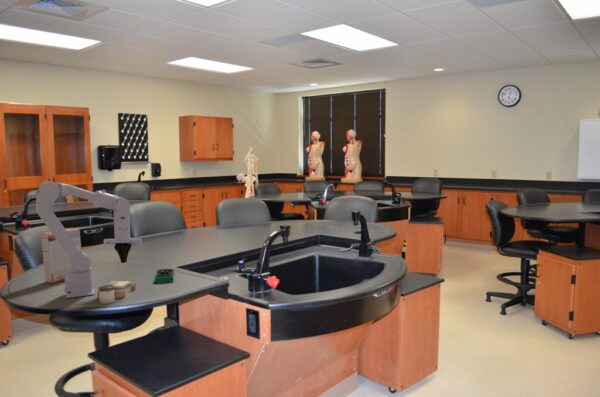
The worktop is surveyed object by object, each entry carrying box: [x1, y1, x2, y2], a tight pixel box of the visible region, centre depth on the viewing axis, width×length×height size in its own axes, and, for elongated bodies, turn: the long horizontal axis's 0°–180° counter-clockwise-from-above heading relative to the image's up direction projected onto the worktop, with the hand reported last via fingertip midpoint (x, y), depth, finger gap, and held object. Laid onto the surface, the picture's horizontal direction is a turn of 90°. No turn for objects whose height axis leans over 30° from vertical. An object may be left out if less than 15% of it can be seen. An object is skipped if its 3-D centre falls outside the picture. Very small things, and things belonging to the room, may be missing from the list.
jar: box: [98, 284, 116, 305], centre depth 165 cm, size 5×5×5 cm
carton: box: [106, 280, 132, 295], centre depth 175 cm, size 7×6×4 cm
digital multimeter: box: [154, 268, 175, 284], centre depth 196 cm, size 7×15×3 cm, turn 14°
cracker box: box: [40, 227, 82, 284], centre depth 197 cm, size 14×6×21 cm, turn 148°
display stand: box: [97, 282, 137, 299], centre depth 175 cm, size 10×11×2 cm
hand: (124, 262), depth 183 cm, fingers closed
